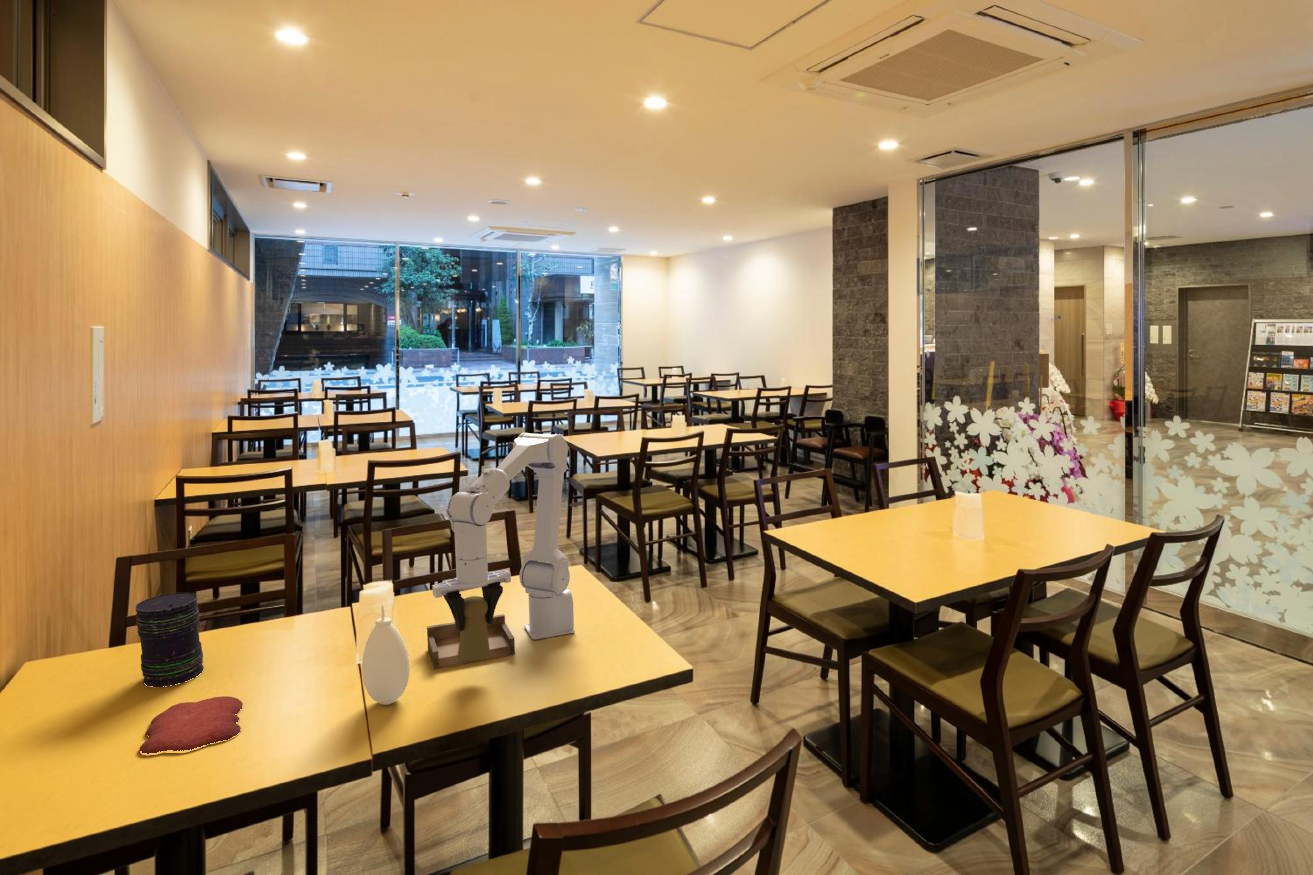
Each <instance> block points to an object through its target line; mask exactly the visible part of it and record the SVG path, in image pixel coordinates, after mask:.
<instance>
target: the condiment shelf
mask: <svg viewBox="0 0 1313 875" xmlns="http://www.w3.org/2000/svg"><path fill="white" fill-rule="evenodd" d="M486 626H487V634H488V641H489V648H490V655H489V656H488V657H487V658H484V659H482V660H477V661H465V660H461V659H459V658H458V648H459V640H460V633H461V631H459V630H458V629H457V628H456V624H455V621H452V622H448V623H447V622H446V623H445V622H444V623H441V624H434V625H428V626H426V636H427V652H428V653H429V654H428V655H429V657H430V661H431V663H432V664H431V665H432V668H433V670H436V669H443V668H448V667H455V666H459V665H464V664H469V663H475V662H481V661H486V660H492V659H497V658H502V657H508V656H513V655H515V654H516V650H515V649H516V647H515V645H516V644H515V643H516V642H515V641H516V640H515V637H514V635H513V634H512V631H511V630H510V629H509V627H508V625H507V624H506V615H505V614H504V613H503V614H497V615H494V616H493V621H492V624H488V623H487V622H486Z"/></svg>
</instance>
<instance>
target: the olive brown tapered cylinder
mask: <svg viewBox="0 0 1313 875" xmlns="http://www.w3.org/2000/svg"><path fill="white" fill-rule="evenodd" d="M487 610H488V603H487V601H486V599H485V598H483V596H481V595H479V596H478V595H473V596H468V597H467V596H466V597H465V598H464V606H463V621H464V630H463V631H461V633H460V640H459V648H458V658H459V659H461V660H465V661H476V662H478V661H477V660H481V661H483V660H482V659H484V658H487V657H488V656H489V655H490V648H489V641H488V634H487V626H486V619H485V614H486V612H487Z"/></svg>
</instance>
